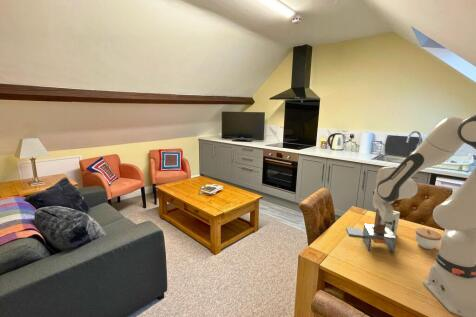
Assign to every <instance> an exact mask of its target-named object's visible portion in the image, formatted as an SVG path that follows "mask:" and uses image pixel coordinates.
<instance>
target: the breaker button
mask: <svg viewBox="0 0 476 317" xmlns="http://www.w3.org/2000/svg"><path fill="white" fill-rule="evenodd" d="M372 242H373V243H376V244H384V245H386V243H385V239H384V238H377V237H372Z"/></svg>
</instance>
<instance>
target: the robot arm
mask: <svg viewBox="0 0 476 317" xmlns="http://www.w3.org/2000/svg"><path fill="white" fill-rule="evenodd" d="M464 144H466V145H468V146H471V147H472V148H473V149H475V150H476V114H473V115H471V116H469V117H467V118H465V119H463V118H460V117H455V116H454V117H453V116H452V117H447V118H445V119H443V120H442V121H440V122H439V123H438V124H437V125H436V126H435V127H434V128H433V129H432V130H431V131H430V133H428V134H427V135H426V136H425V138H424V139H423V141H422V142H420V143H419V144H418V146H417V147H416V148H415V149H414V150H413V151H412V152H411V153H410V154H409V155H408V156H407V157H406V158H405V159H403V161H402V162H401V163H399V164H398V166H397V167H396V166H381V167H380V168H379V169H378V171H377V175H376V179H375V180H376V181H375V182H376V186H375V189H374V190H372V206H373V207H374V209H375V210H376V209H378V210H379V215H380V216H381V220H380V224H382V225H384V224H385V222H392V220H393V210H394V207H393V206H392V204H393V203H394V202H395V201H399V200H404V199H409V198H412V197H415V196H416V195H417V194H418V192H419V185H418V183H417V182H416V181H415V179H413V178H412V177H413V176H414V175H416V174H417V173H418V172H421V171H422V170H425V169H428V168H431V167H435V166H437V165H438V166H439V165H441V164H443V163H445V162H446V161H448V160H449V159H450V158H452V157H453V156H454V155H455V154H456V152H458V150H460V148H461V147H462V146H464ZM432 217H433V220H434V221H435V223H436V225H437V226H439V227H440V228H442V229H444V230H446V231H445V232H444V233H443V235H441V240H440V244H439V245H440V246H439V250H437V253H436V255H435V262H434V263H433V264H432V265H431V267H430V268H429V272H428V274H427V278H426V279H424V280H423V281H422V284H423V285H424V286H425V287H426V288H427V289H428V291H429V292H430V293H432V295H433V296H434V297H435V298H436V299H437V300H438V301H439V303H441V305H442V306H444V307H445V308H446V309H447V311H449V312H450V313H453V314H454V315H456V316H459V317H476V166H475V167H474V168H473V170H472V171H471V172H470V174H469V176H468V177H467V178H466V179H465V181H464V182H463V183H462V184H461V185H460V186H459V187H458V188H457V189H456V190H455V191H454V192H453V193H452V194H450V196H449V197H448V198H446V199H445V200H444V201H442V202H441V203H440V204H438V205H436V206H435V207H434V208H433V211H432Z"/></svg>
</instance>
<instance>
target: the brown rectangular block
mask: <svg viewBox="0 0 476 317" xmlns="http://www.w3.org/2000/svg"><path fill="white" fill-rule="evenodd" d="M380 220H381V216H380V215H379V210H378V209H375V216H374V224H373V225H374V229H373V230H374V232H375V233H382V234H384V232H385V226H386V222H385V224H384V225H382V224H380Z"/></svg>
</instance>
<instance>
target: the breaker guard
mask: <svg viewBox="0 0 476 317" xmlns="http://www.w3.org/2000/svg"><path fill="white" fill-rule="evenodd" d="M362 232H363V237H361V238H362V240H363V243H364V245H365V247H366V249H367V251H371V245H372V241H373V239H372V237H377V238H384V239H385V245H386V247H387V248H388V250H389V251H390V253H391V254H392V255H394V254H395V250H396V243H397V237H396V235H394V234H393V232H392V231H391V229H390V228H389V227H388V226H385V234H382V233H375V232H374V224H369V223H364V224H363V229H362Z"/></svg>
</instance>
